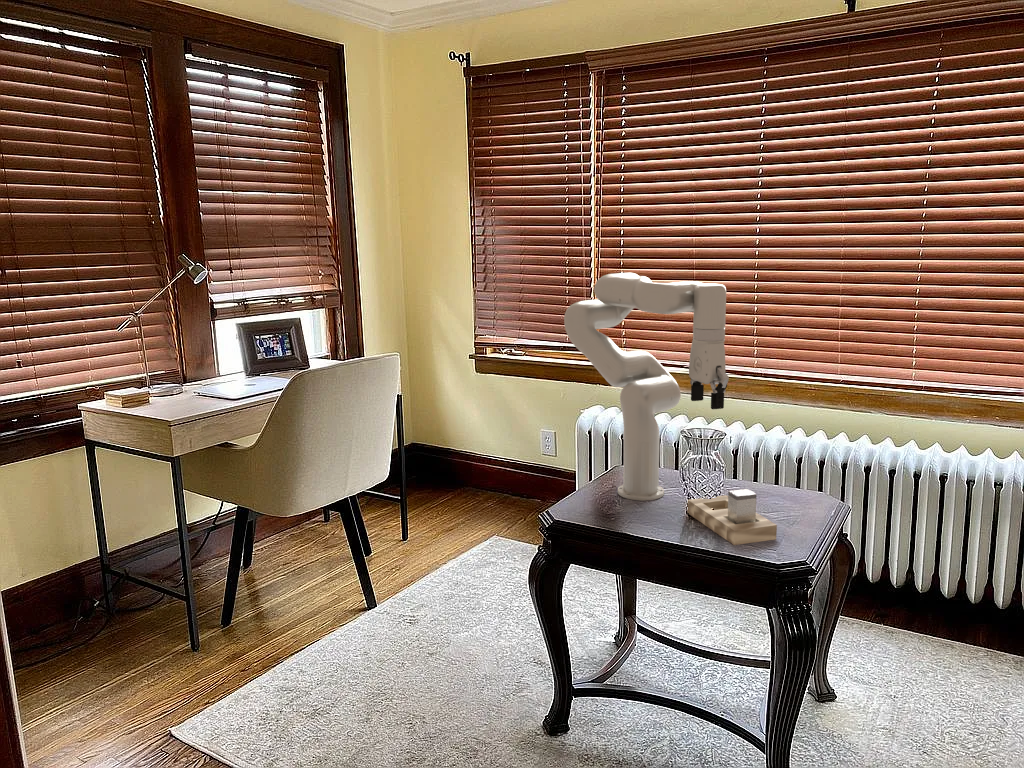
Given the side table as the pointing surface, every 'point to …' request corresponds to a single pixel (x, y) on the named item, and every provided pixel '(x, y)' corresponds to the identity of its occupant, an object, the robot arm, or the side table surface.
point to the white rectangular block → (741, 506)
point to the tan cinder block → (727, 529)
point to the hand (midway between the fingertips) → (706, 404)
